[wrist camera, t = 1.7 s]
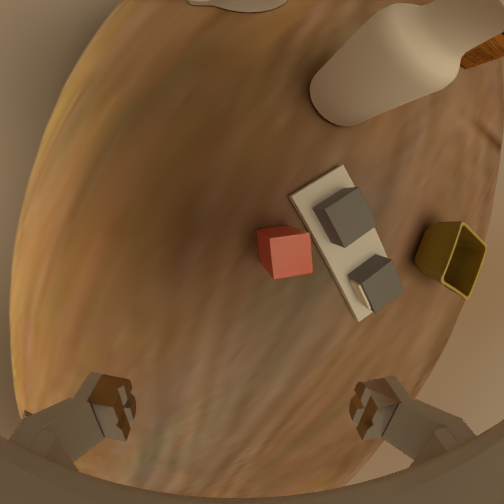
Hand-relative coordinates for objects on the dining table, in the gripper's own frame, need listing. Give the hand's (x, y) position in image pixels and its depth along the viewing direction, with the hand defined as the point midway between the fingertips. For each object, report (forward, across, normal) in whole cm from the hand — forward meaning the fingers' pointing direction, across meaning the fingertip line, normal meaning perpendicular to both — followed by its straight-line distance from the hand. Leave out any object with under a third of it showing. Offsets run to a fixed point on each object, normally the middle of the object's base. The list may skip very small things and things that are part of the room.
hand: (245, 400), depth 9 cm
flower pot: (+29, -30, 0) cm, 42 cm away
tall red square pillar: (+26, -5, 0) cm, 27 cm away
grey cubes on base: (+27, -15, 0) cm, 31 cm away
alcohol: (+28, -12, -20) cm, 37 cm away
